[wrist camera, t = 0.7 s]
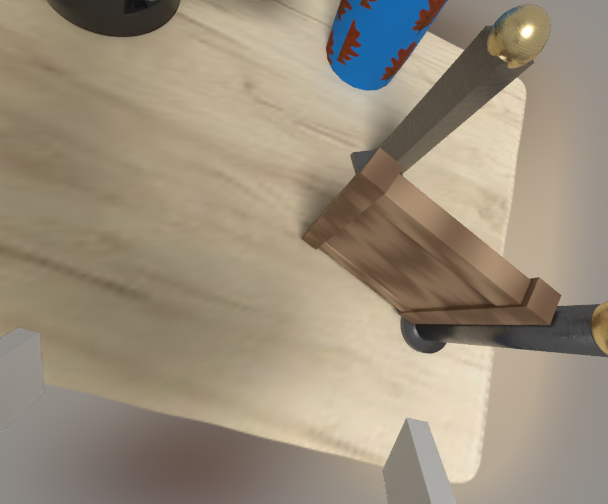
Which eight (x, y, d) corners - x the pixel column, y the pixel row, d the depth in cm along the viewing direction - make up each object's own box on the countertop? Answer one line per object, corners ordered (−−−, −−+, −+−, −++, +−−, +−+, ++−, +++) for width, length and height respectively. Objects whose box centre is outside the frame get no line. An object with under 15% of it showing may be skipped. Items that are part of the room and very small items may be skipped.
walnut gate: (421, 306, 36) (561, 295, 21) (411, 323, 36) (549, 325, 20) (314, 222, 35) (379, 147, 20) (301, 238, 35) (360, 172, 19)
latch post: (404, 192, 41) (594, 53, 20) (363, 199, 39) (523, 55, 18) (390, 151, 42) (559, -24, 21) (350, 155, 40) (488, -30, 19)
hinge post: (401, 298, 38) (624, 267, 17) (445, 304, 39) (704, 282, 18) (400, 350, 36) (642, 389, 15) (445, 354, 37) (728, 396, 16)
